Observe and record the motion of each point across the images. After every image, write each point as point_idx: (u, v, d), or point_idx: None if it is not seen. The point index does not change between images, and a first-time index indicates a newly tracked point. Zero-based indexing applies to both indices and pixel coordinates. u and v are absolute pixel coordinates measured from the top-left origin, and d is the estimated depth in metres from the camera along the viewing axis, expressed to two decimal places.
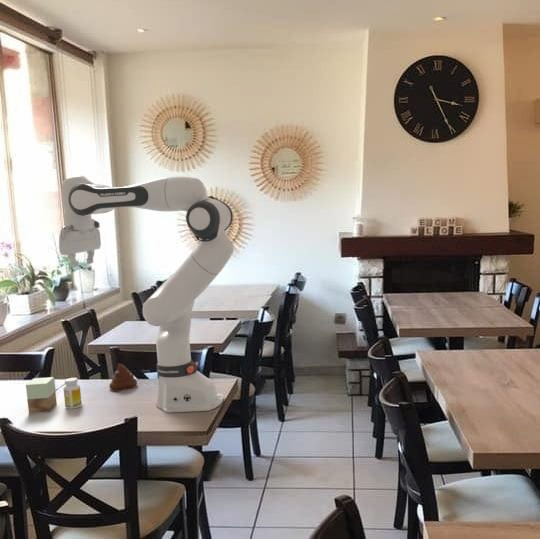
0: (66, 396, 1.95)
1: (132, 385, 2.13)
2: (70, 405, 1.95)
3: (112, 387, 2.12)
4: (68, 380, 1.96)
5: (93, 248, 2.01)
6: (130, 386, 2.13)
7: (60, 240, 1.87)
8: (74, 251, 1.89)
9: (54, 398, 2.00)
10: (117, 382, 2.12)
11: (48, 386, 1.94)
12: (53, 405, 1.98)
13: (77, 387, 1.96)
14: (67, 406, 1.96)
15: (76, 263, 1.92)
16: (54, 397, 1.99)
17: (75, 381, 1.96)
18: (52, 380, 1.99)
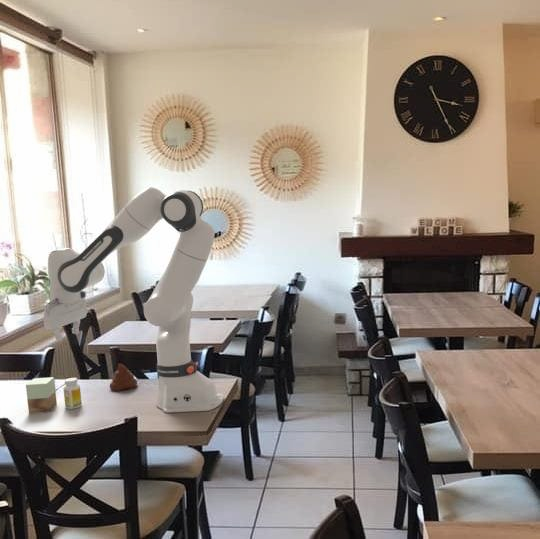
0: (66, 396, 1.95)
1: (132, 385, 2.13)
2: (70, 405, 1.95)
3: (112, 387, 2.12)
4: (68, 380, 1.96)
5: (79, 318, 2.00)
6: (130, 386, 2.13)
7: (45, 315, 1.86)
8: (59, 325, 1.88)
9: (54, 398, 2.00)
10: (117, 382, 2.12)
11: (48, 387, 1.94)
12: (53, 405, 1.98)
13: (77, 387, 1.96)
14: (67, 406, 1.96)
15: (61, 336, 1.91)
16: (54, 397, 1.99)
17: (75, 381, 1.96)
18: (52, 380, 1.99)
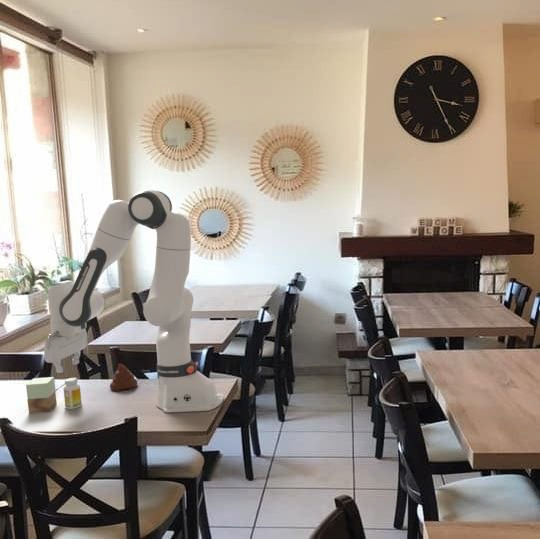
0: (66, 396, 1.95)
1: (132, 385, 2.13)
2: (70, 405, 1.95)
3: (112, 387, 2.12)
4: (68, 380, 1.96)
5: (79, 349, 2.00)
6: (130, 386, 2.13)
7: (45, 348, 1.86)
8: (59, 358, 1.89)
9: (54, 398, 2.00)
10: (117, 382, 2.12)
11: (48, 386, 1.94)
12: (53, 405, 1.98)
13: (77, 387, 1.96)
14: (67, 406, 1.96)
15: (61, 369, 1.92)
16: (54, 397, 1.99)
17: (75, 381, 1.96)
18: (52, 380, 1.99)
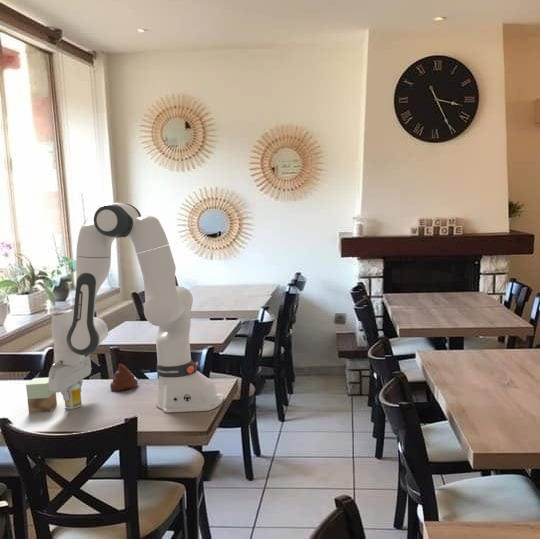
0: None
1: (133, 385, 2.13)
2: (70, 405, 1.95)
3: (113, 387, 2.12)
4: None
5: (83, 377, 2.02)
6: (131, 386, 2.13)
7: (50, 378, 1.88)
8: (64, 387, 1.90)
9: (54, 398, 2.00)
10: (118, 382, 2.12)
11: (48, 386, 1.94)
12: (53, 405, 1.98)
13: (77, 387, 1.96)
14: (67, 406, 1.96)
15: (68, 396, 1.94)
16: (54, 397, 1.99)
17: (75, 381, 1.96)
18: None
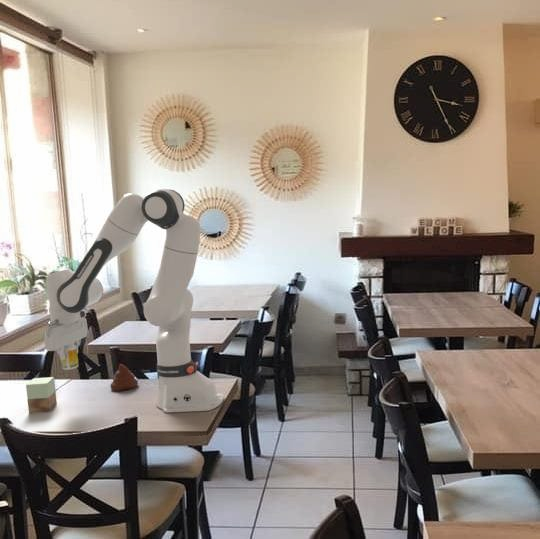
0: None
1: (133, 385, 2.13)
2: (66, 366, 1.94)
3: (113, 387, 2.12)
4: None
5: (80, 337, 2.00)
6: (131, 386, 2.13)
7: (45, 336, 1.86)
8: (60, 346, 1.88)
9: (54, 398, 2.00)
10: (118, 382, 2.12)
11: (48, 386, 1.95)
12: (53, 405, 1.98)
13: (73, 348, 1.95)
14: (64, 367, 1.94)
15: (65, 356, 1.92)
16: (54, 397, 1.99)
17: (71, 342, 1.95)
18: (52, 380, 1.99)
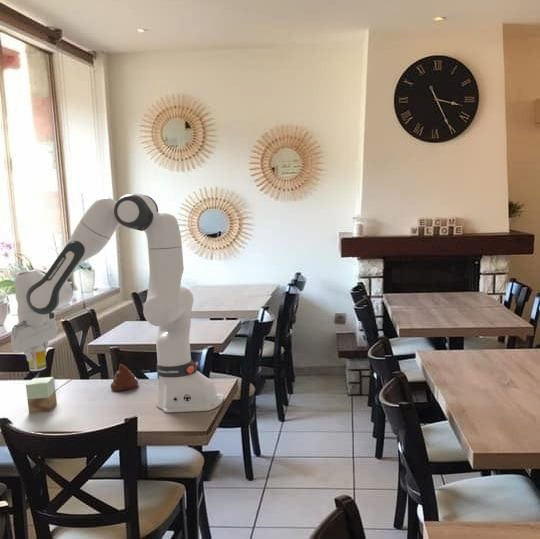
0: None
1: (133, 385, 2.13)
2: (34, 367, 1.93)
3: (113, 387, 2.11)
4: None
5: (48, 339, 1.99)
6: (131, 386, 2.12)
7: (12, 338, 1.85)
8: (27, 347, 1.88)
9: (54, 398, 2.00)
10: (118, 382, 2.11)
11: (48, 386, 1.95)
12: (53, 405, 1.98)
13: (41, 349, 1.94)
14: (31, 368, 1.94)
15: (32, 357, 1.92)
16: (54, 397, 1.99)
17: (39, 343, 1.94)
18: (52, 380, 1.99)
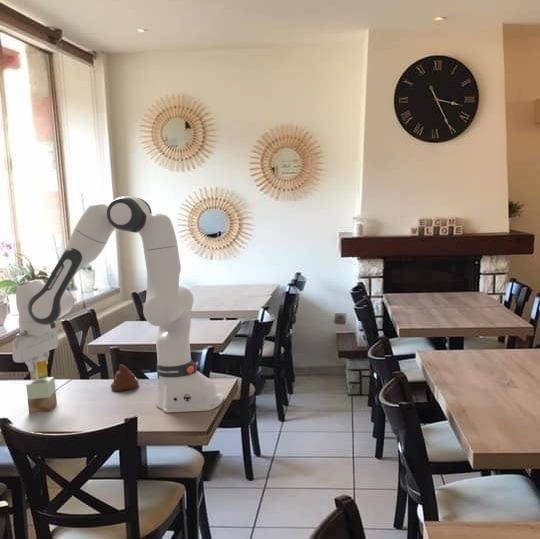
0: None
1: (133, 385, 2.13)
2: (35, 377, 1.94)
3: (113, 387, 2.11)
4: None
5: (50, 348, 2.00)
6: (131, 386, 2.12)
7: (13, 348, 1.86)
8: (28, 358, 1.88)
9: (54, 398, 2.00)
10: (118, 382, 2.11)
11: (48, 386, 1.95)
12: (53, 405, 1.98)
13: (43, 359, 1.95)
14: (32, 378, 1.94)
15: (33, 367, 1.92)
16: (54, 397, 1.99)
17: (40, 353, 1.95)
18: (52, 380, 1.99)
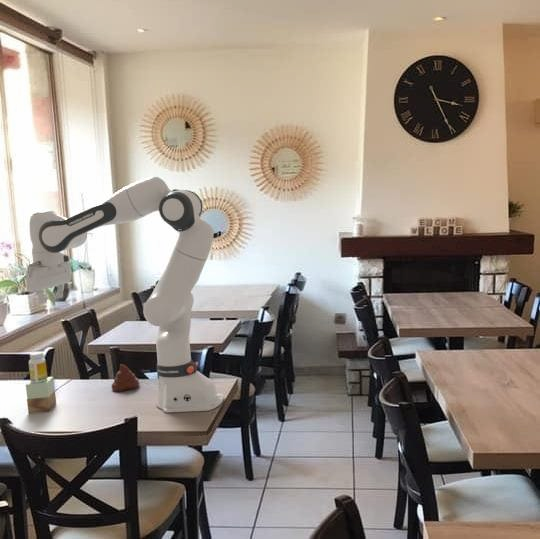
0: (31, 370, 1.94)
1: (134, 386, 2.13)
2: (35, 379, 1.94)
3: (114, 388, 2.11)
4: (33, 354, 1.95)
5: (63, 282, 1.98)
6: (132, 387, 2.12)
7: (27, 277, 1.85)
8: (42, 287, 1.87)
9: (54, 398, 2.00)
10: (119, 383, 2.11)
11: (48, 386, 1.95)
12: (53, 405, 1.98)
13: (42, 361, 1.95)
14: (32, 380, 1.94)
15: (44, 299, 1.90)
16: (53, 397, 1.99)
17: (40, 355, 1.95)
18: (52, 380, 1.99)
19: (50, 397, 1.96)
